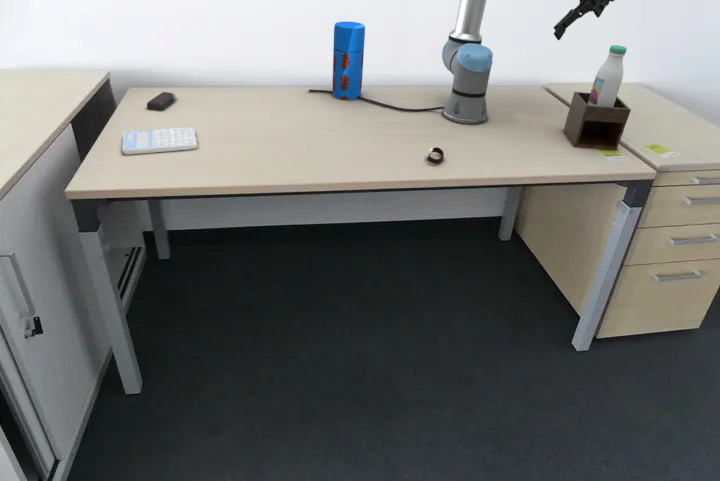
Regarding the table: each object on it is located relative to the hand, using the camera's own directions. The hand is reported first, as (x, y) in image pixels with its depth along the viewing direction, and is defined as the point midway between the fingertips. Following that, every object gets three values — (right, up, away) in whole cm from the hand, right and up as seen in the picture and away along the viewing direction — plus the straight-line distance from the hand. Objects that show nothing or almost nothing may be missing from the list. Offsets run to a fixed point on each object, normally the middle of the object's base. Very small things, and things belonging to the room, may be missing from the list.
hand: (575, 25), depth 164 cm
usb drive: (-134, -20, +17) cm, 136 cm away
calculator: (-125, -38, -9) cm, 131 cm away
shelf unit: (+9, -33, +12) cm, 36 cm away
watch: (-45, -43, -8) cm, 62 cm away
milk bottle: (+10, -25, +6) cm, 28 cm away
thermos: (-72, -12, +35) cm, 81 cm away
